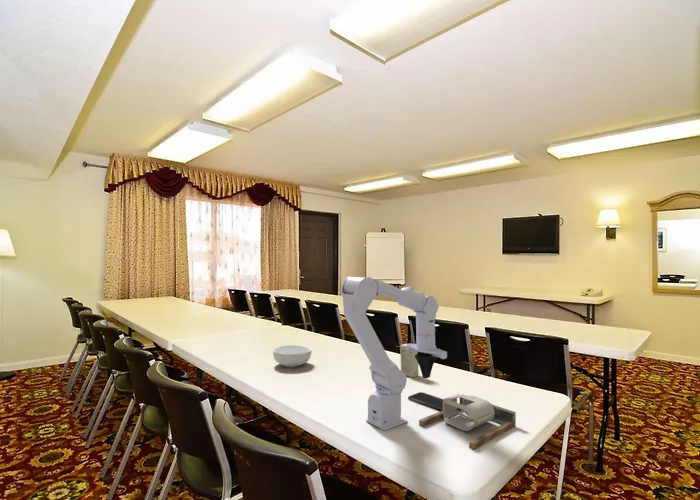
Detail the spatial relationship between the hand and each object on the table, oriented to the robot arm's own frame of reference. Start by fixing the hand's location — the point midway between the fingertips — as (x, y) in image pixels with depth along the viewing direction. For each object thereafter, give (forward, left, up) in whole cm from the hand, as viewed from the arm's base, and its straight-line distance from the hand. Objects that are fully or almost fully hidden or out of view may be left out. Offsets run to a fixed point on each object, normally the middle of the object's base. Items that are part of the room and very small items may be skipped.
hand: (426, 377), depth 114 cm
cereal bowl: (-8, +70, -11) cm, 71 cm away
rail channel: (+1, -14, -10) cm, 17 cm away
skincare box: (+23, +28, -11) cm, 38 cm away
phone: (+7, +3, -11) cm, 13 cm away
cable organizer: (+2, -13, -11) cm, 17 cm away
